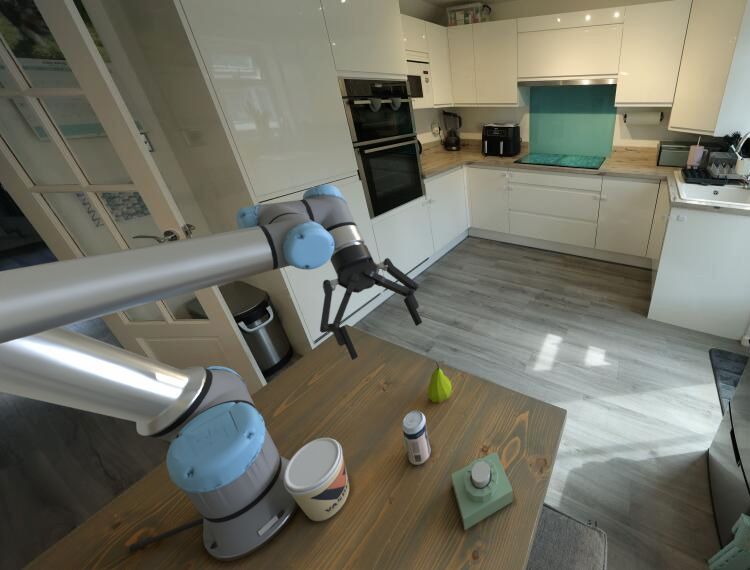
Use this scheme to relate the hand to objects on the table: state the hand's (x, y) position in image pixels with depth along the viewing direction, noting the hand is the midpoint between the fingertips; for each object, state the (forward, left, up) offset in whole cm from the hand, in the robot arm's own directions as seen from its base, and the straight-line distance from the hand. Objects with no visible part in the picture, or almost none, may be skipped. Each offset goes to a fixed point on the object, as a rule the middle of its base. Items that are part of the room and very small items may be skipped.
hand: (389, 340), depth 64 cm
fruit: (+9, +4, -28) cm, 30 cm away
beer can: (+1, -8, -28) cm, 29 cm away
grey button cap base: (+11, -21, -28) cm, 36 cm away
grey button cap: (+11, -21, -22) cm, 32 cm away
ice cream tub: (-17, -8, -28) cm, 33 cm away
